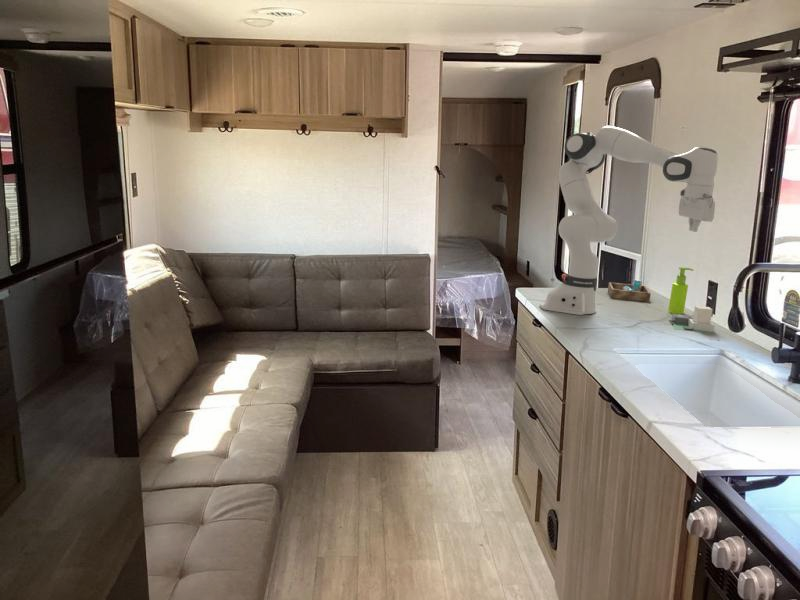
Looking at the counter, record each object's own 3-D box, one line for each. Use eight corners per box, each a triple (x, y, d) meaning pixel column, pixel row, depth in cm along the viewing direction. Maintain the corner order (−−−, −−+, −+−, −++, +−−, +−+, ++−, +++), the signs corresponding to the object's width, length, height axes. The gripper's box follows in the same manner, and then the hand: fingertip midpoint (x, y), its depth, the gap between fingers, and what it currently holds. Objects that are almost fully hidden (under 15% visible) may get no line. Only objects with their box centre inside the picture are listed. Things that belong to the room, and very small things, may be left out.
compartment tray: (674, 332, 239) (676, 322, 238) (667, 322, 253) (669, 313, 252) (715, 336, 236) (716, 327, 235) (705, 326, 250) (707, 317, 249)
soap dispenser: (687, 317, 263) (695, 269, 258) (669, 316, 264) (677, 268, 259) (683, 314, 268) (691, 267, 264) (666, 312, 269) (673, 265, 265)
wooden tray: (610, 297, 292) (612, 289, 291) (607, 290, 307) (608, 282, 306) (649, 301, 288) (650, 293, 287) (644, 294, 304) (645, 285, 303)
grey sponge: (671, 324, 245) (672, 318, 244) (667, 319, 253) (668, 313, 252) (690, 326, 243) (691, 320, 243) (686, 321, 251) (687, 315, 251)
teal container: (648, 300, 293) (650, 283, 291) (621, 298, 293) (623, 281, 292) (640, 294, 305) (642, 277, 303) (614, 292, 305) (616, 276, 303)
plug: (694, 329, 240) (698, 308, 239) (691, 326, 244) (695, 305, 242) (711, 330, 240) (714, 309, 238) (707, 327, 244) (711, 307, 242)
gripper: (722, 195, 223) (715, 235, 226) (694, 191, 243) (688, 228, 246) (704, 194, 223) (697, 234, 226) (678, 190, 243) (672, 227, 246)
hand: (692, 231), depth 236 cm, fingers closed
